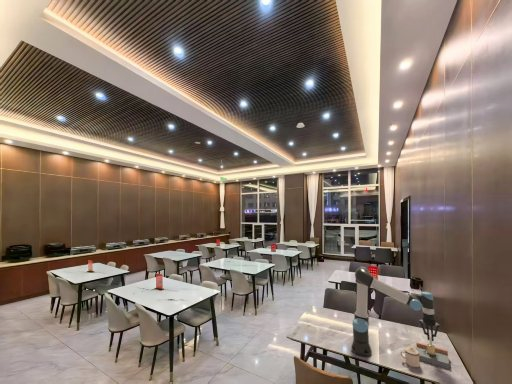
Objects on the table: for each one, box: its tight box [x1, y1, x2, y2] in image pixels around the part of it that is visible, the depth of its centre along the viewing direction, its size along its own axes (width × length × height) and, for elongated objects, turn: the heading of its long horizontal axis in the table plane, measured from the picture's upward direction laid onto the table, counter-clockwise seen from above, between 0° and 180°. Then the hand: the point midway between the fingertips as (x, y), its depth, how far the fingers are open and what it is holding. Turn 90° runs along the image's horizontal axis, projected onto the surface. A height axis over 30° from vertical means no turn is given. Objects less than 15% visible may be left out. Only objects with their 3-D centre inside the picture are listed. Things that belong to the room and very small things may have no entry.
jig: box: [415, 341, 450, 370], centre depth 180 cm, size 20×16×6 cm
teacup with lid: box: [400, 346, 421, 368], centre depth 174 cm, size 12×9×12 cm
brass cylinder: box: [426, 343, 436, 357], centre depth 179 cm, size 5×5×10 cm
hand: (430, 344), depth 180 cm, fingers closed
